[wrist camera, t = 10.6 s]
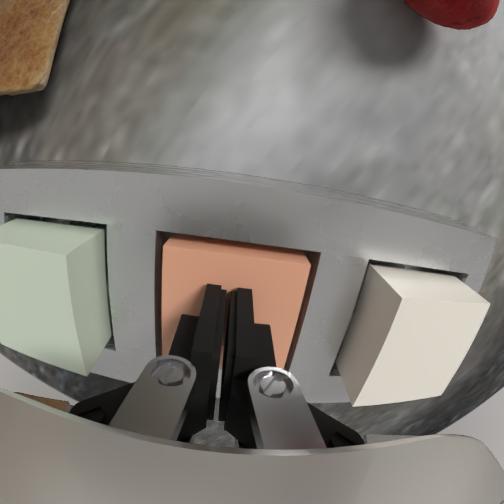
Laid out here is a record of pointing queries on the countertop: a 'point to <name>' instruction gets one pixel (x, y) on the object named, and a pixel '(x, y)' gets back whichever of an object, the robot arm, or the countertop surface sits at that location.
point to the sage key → (54, 292)
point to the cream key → (407, 335)
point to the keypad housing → (238, 229)
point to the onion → (456, 12)
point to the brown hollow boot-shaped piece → (28, 43)
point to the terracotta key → (233, 284)
